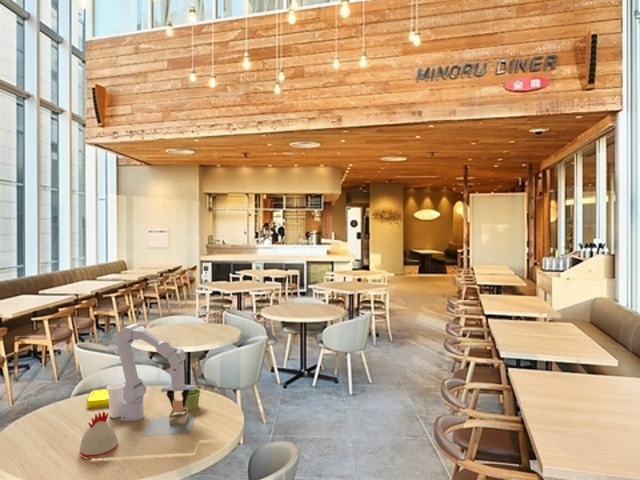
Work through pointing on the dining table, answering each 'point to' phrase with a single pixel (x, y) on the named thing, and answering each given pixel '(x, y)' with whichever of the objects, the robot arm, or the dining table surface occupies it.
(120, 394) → the cup
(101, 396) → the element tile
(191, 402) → the plant pot
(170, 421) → the birch socket block
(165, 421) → the grey board
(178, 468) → the dining table surface
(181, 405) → the terracotta block
